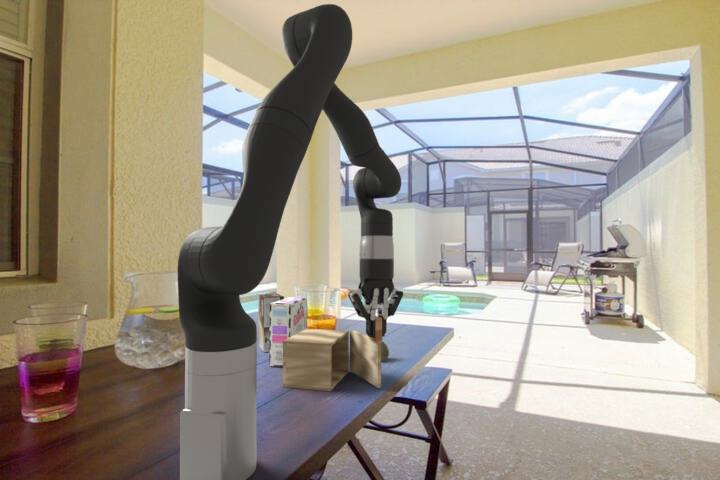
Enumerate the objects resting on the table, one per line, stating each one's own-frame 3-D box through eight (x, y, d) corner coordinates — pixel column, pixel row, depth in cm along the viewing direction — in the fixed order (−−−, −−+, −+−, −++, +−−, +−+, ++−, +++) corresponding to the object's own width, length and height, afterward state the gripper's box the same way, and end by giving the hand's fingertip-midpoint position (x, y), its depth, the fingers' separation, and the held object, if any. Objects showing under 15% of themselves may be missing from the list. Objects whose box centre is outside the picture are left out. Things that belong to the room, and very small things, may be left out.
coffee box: (285, 350, 120) (285, 296, 121) (263, 352, 118) (263, 297, 118) (277, 343, 129) (277, 293, 129) (257, 346, 126) (257, 294, 126)
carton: (330, 391, 86) (330, 343, 86) (282, 386, 88) (282, 340, 89) (348, 371, 99) (348, 330, 100) (306, 368, 102) (306, 328, 102)
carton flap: (382, 387, 87) (382, 317, 87) (376, 388, 86) (376, 318, 87) (354, 369, 100) (354, 309, 100) (348, 370, 99) (348, 309, 99)
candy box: (290, 368, 102) (290, 303, 103) (268, 367, 104) (268, 302, 104) (307, 354, 116) (307, 296, 116) (288, 353, 117) (288, 296, 117)
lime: (388, 358, 112) (388, 339, 112) (388, 362, 107) (388, 343, 107) (372, 357, 112) (372, 339, 112) (371, 362, 107) (371, 343, 107)
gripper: (358, 257, 82) (357, 343, 82) (412, 257, 89) (412, 336, 88) (340, 256, 89) (340, 336, 88) (392, 257, 96) (392, 331, 95)
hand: (376, 336), depth 88 cm, fingers closed on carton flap, 2 cm apart
